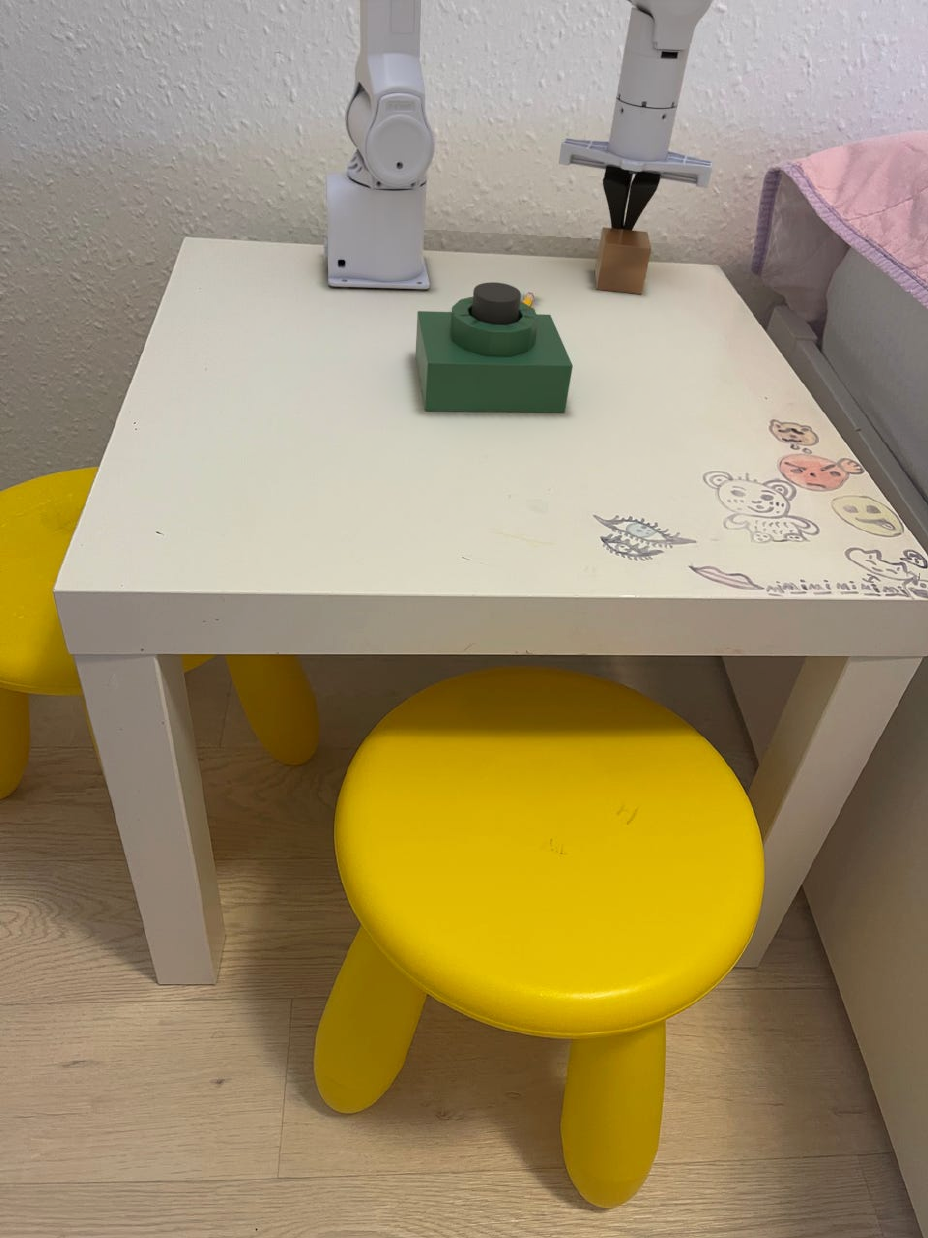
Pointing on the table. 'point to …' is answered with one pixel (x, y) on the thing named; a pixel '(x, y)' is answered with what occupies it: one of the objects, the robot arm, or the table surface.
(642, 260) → the block
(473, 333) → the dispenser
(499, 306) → the dark grey push button
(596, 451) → the table surface
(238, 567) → the table surface
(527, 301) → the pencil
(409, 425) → the table surface
